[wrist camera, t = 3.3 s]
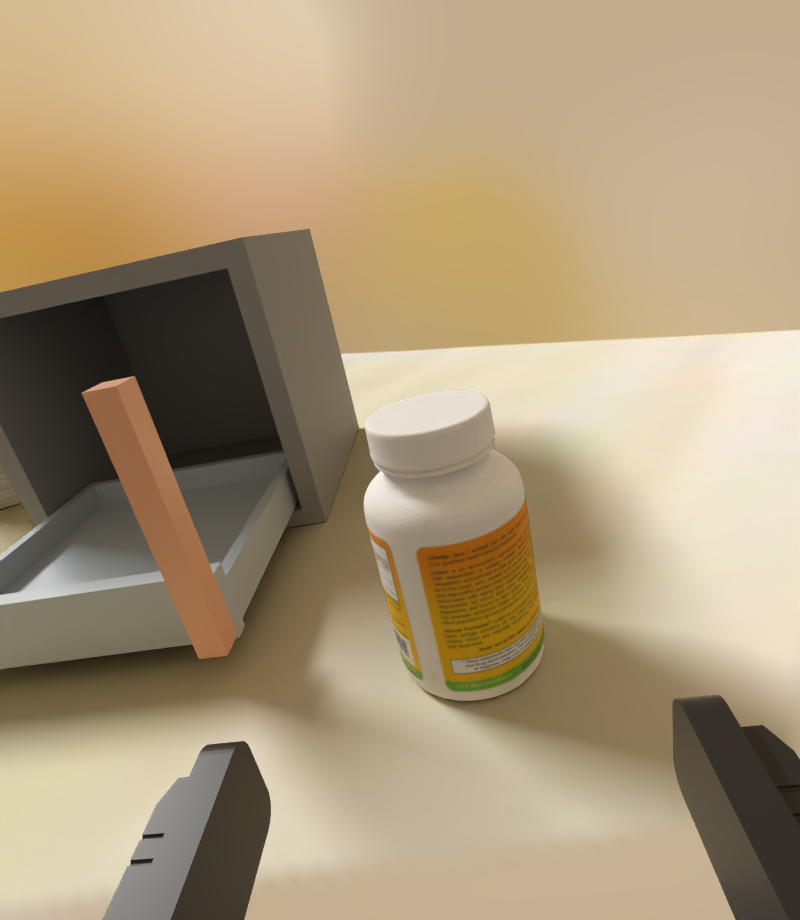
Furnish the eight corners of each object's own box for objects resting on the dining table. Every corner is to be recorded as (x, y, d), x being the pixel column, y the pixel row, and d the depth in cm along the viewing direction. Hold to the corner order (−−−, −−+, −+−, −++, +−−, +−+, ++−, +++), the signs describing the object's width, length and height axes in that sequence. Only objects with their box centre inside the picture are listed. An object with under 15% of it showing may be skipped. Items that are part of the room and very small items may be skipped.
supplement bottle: (567, 621, 22) (540, 380, 18) (509, 728, 18) (460, 450, 14) (446, 592, 25) (403, 382, 21) (376, 679, 21) (307, 440, 17)
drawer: (-107, 701, 24) (-282, 464, 20) (101, 513, 39) (28, 356, 35) (229, 659, 22) (116, 386, 18) (312, 478, 37) (262, 306, 33)
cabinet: (53, 563, 36) (-80, 310, 30) (163, 462, 50) (90, 278, 44) (325, 521, 33) (242, 237, 27) (358, 427, 48) (309, 229, 42)
